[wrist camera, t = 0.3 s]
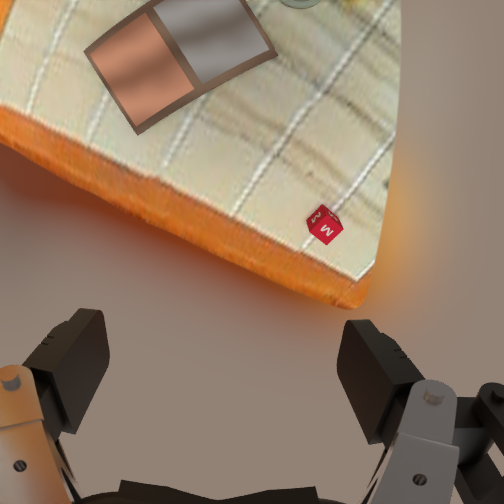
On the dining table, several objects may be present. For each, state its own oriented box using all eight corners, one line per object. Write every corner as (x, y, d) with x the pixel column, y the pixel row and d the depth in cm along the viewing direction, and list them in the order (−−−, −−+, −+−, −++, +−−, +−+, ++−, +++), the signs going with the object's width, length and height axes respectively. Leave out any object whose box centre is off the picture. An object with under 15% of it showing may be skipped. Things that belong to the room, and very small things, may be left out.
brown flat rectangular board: (87, 51, 29) (82, 51, 28) (219, -36, 24) (218, -38, 23) (140, 133, 35) (137, 135, 34) (277, 55, 30) (278, 55, 29)
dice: (306, 220, 41) (309, 232, 38) (322, 203, 40) (326, 214, 37) (322, 233, 42) (326, 245, 39) (338, 217, 41) (343, 229, 38)
